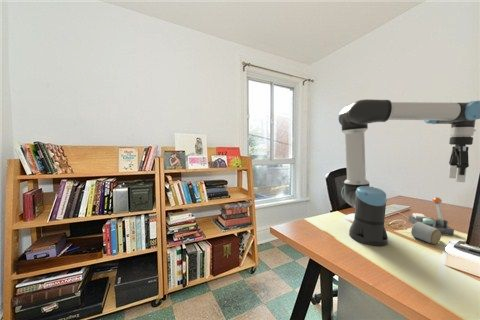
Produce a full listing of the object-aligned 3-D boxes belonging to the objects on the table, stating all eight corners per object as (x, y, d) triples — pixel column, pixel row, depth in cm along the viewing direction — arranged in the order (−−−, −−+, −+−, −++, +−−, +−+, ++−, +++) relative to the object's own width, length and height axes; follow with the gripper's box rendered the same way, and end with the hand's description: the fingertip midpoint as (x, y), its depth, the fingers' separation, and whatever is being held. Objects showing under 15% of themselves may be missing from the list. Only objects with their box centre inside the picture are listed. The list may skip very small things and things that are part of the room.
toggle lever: (435, 224, 101) (430, 197, 104) (440, 223, 102) (434, 197, 105) (443, 225, 98) (437, 197, 100) (448, 224, 99) (442, 197, 101)
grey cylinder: (431, 246, 85) (433, 229, 85) (410, 238, 93) (411, 222, 92) (445, 243, 89) (447, 226, 88) (423, 235, 97) (425, 219, 96)
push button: (425, 224, 101) (426, 220, 101) (420, 221, 105) (421, 217, 105) (435, 225, 100) (435, 221, 100) (429, 222, 104) (430, 218, 104)
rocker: (415, 218, 110) (416, 216, 109) (412, 215, 112) (413, 213, 112) (425, 219, 108) (425, 216, 108) (421, 216, 111) (422, 213, 111)
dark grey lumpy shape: (426, 232, 99) (427, 220, 99) (408, 220, 115) (409, 210, 114) (453, 235, 97) (454, 223, 96) (431, 222, 112) (432, 212, 111)
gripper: (483, 135, 83) (476, 184, 85) (464, 137, 103) (459, 177, 105) (457, 135, 87) (451, 182, 89) (444, 137, 107) (439, 176, 109)
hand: (456, 180), depth 97 cm, fingers open, 13 cm apart
